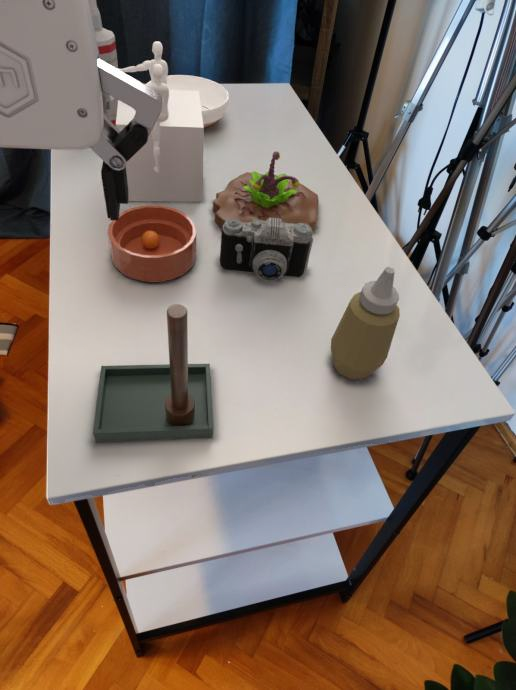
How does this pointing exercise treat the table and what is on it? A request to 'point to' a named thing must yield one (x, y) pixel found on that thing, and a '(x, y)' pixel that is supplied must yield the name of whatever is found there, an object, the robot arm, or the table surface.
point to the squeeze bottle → (366, 328)
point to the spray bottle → (105, 55)
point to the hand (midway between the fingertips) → (47, 208)
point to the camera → (266, 247)
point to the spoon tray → (148, 403)
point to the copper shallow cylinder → (158, 262)
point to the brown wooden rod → (178, 369)
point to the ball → (150, 239)
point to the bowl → (202, 95)
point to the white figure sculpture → (166, 142)
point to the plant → (266, 199)
